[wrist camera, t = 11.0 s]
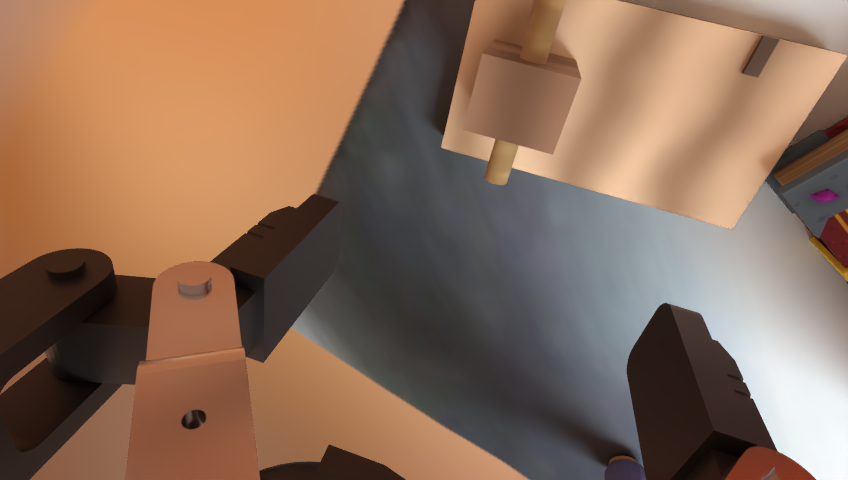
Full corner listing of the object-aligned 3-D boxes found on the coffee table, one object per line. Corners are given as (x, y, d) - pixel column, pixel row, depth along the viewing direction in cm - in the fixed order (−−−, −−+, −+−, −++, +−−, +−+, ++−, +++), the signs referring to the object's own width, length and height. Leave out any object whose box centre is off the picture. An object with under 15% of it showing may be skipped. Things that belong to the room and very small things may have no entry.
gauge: (595, 4, 26) (606, 11, 20) (537, 166, 31) (534, 203, 26) (509, -16, 26) (499, -15, 21) (466, 146, 31) (450, 179, 26)
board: (828, 50, 26) (850, 56, 24) (722, 216, 32) (733, 231, 30) (486, -32, 28) (481, -32, 26) (446, 139, 34) (440, 149, 32)
